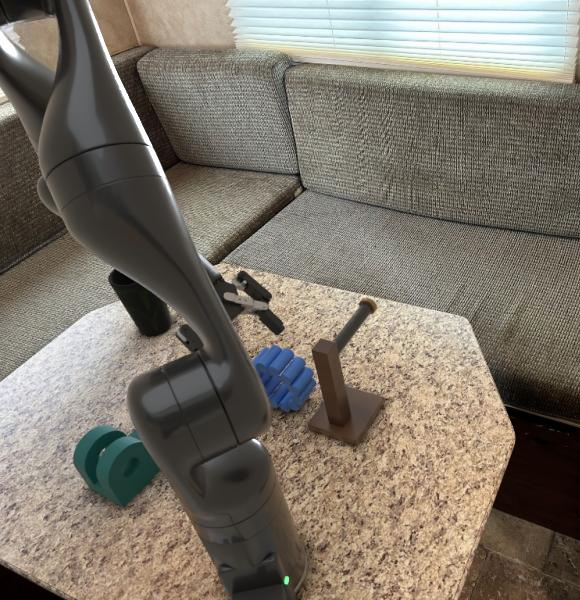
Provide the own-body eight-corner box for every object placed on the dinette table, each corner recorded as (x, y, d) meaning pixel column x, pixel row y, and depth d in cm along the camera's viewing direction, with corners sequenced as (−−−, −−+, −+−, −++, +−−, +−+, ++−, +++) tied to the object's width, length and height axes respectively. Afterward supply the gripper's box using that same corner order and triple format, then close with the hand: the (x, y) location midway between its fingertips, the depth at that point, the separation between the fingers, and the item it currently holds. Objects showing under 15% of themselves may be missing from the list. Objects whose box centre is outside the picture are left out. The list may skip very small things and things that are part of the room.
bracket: (123, 507, 79) (99, 471, 74) (89, 488, 82) (64, 452, 77) (217, 410, 91) (201, 374, 86) (184, 396, 94) (168, 360, 89)
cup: (148, 311, 112) (124, 257, 104) (185, 313, 110) (163, 259, 102) (125, 339, 106) (98, 284, 98) (164, 342, 104) (140, 287, 97)
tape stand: (357, 446, 84) (341, 366, 74) (308, 429, 87) (286, 351, 77) (401, 375, 93) (392, 296, 84) (356, 362, 96) (342, 285, 87)
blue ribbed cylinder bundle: (306, 419, 88) (294, 373, 82) (254, 401, 92) (238, 356, 86) (320, 399, 91) (309, 354, 85) (269, 383, 94) (255, 338, 89)
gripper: (148, 289, 75) (245, 377, 78) (220, 230, 85) (303, 310, 88) (132, 313, 81) (223, 394, 84) (201, 254, 90) (281, 329, 93)
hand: (264, 351), depth 86 cm, fingers open, 8 cm apart
